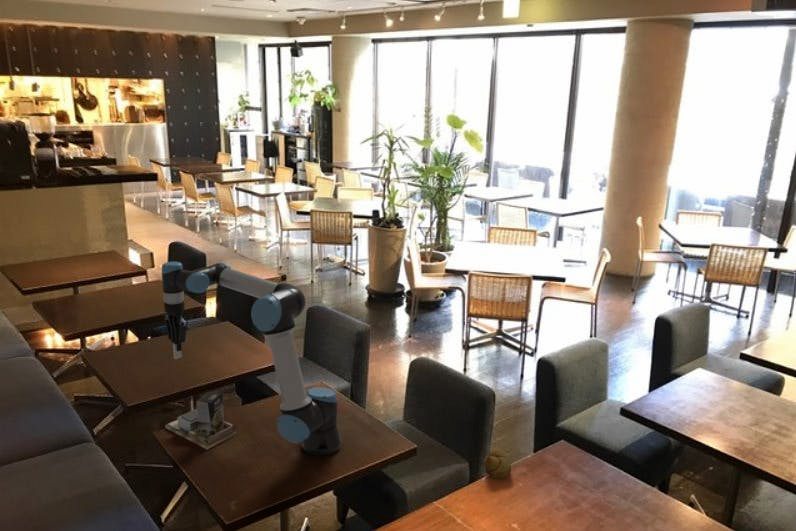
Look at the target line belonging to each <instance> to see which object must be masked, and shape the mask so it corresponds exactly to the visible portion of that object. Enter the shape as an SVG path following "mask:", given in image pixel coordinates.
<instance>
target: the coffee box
mask: <svg viewBox="0 0 796 531" xmlns="http://www.w3.org/2000/svg"><path fill="white" fill-rule="evenodd" d="M223 398H224V396H223V392H217V391H207V392H206V393H204V394H203V395H202V396H201V397H199V398H198V399H197V400H196V409H197V419H198V435H200V436H202V437H204V438H208V437H210V436H212V435H214V434H216V433H218V432H220V431H222V430H224V421H225V420H224V419H225V418H224V417H225V416H224V399H223Z"/></svg>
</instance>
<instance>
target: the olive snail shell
mask: <svg viewBox="0 0 796 531" xmlns="http://www.w3.org/2000/svg"><path fill="white" fill-rule="evenodd" d="M483 465H484V470H485V473H486V474H487V475H488V476H489V477H490V478H492V479H493V478H494V479H498V480H501V479H502V480H503V479H505V478H507V477H508V476H509V475H510V474H511V471H512V466H511V462H510V457H509V456H508V455H507V454H506V453H505V452H504V451H502V450H492V451H491V452H489V453H488V454H487V455H486V457H485V458H484V459H483Z"/></svg>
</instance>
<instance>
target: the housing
mask: <svg viewBox="0 0 796 531" xmlns="http://www.w3.org/2000/svg"><path fill="white" fill-rule="evenodd" d="M177 420H178V429H180V430H182V431H184V432H186V433H188V431H190V430H191V431H193V432H194V433H196V432H198V419H197V408H195V409H193V410H190V411H189V412H186V413H184V414H181V415H179V416H177Z"/></svg>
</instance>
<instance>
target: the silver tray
mask: <svg viewBox="0 0 796 531" xmlns="http://www.w3.org/2000/svg"><path fill="white" fill-rule="evenodd" d="M164 428H165V429H167V430H169V431H171V432H173V433H175V434H176V435H178V436H180V437H182V438H184V439H186V440H188V441H189V442H191V443H193V444H195V445H198V446H199V447H201V448H203V449H205V450H210V449H211V448H213V447H215V446H216V445H219V444H220V443H222V442H224V441H226V440H228V439H230V438H232V437H235V436H236V435H237V431H236V426H235V425H234V424H233V423H230V422H228V421H226V420H224V430H222V431H220V432H218V433H216V434H214V435H212V436H210V437H208V438H204V437H202V436H200V435H198V432H196V433H194V432H193V431H191V430H190V431H188V433H186V432H184V431H182V430H180V429H178V419H176V420H174V421H171V422H168V423H166V424H165V427H164Z"/></svg>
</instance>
